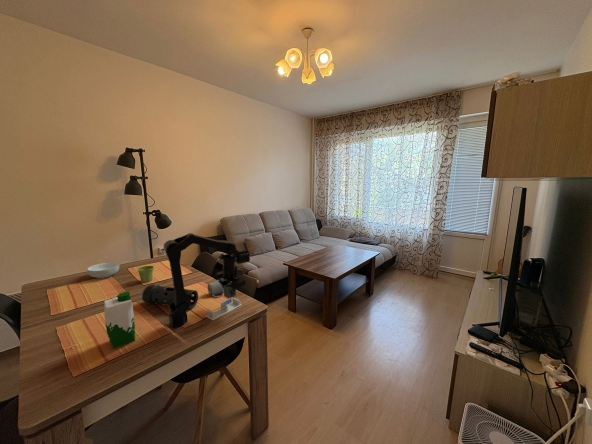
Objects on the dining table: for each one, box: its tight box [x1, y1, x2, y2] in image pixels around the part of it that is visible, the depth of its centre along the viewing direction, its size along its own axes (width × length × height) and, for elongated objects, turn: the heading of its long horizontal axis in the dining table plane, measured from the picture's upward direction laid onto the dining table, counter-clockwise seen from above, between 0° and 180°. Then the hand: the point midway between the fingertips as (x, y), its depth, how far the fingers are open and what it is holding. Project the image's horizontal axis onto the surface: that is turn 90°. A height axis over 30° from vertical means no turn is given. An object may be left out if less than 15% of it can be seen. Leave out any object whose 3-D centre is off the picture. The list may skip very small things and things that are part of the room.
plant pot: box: [136, 265, 155, 283], centre depth 151 cm, size 9×9×9 cm
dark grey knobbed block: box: [223, 282, 237, 299], centre depth 119 cm, size 4×4×7 cm
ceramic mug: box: [207, 280, 224, 299], centre depth 134 cm, size 11×8×8 cm
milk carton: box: [103, 291, 136, 350], centre depth 94 cm, size 9×9×20 cm
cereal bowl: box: [86, 261, 120, 279], centre depth 157 cm, size 17×17×7 cm
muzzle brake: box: [140, 284, 199, 310], centre depth 121 cm, size 10×28×10 cm, turn 78°
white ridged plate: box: [205, 297, 243, 321], centre depth 118 cm, size 18×7×3 cm, turn 144°
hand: (230, 294), depth 120 cm, fingers closed on dark grey knobbed block, 4 cm apart
